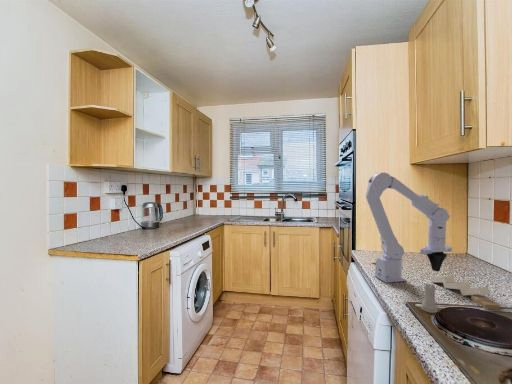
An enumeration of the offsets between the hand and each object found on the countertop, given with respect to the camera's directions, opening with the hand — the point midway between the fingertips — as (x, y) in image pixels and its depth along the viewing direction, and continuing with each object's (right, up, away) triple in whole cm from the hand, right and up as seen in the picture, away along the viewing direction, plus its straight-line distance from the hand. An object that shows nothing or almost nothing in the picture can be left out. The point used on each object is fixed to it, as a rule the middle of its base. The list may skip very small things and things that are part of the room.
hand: (435, 270), depth 108 cm
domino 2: (+1, -4, -6) cm, 7 cm away
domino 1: (0, -4, 0) cm, 4 cm away
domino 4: (+3, -5, -16) cm, 17 cm away
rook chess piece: (-18, -6, -23) cm, 30 cm away
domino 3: (+2, -4, -12) cm, 13 cm away
